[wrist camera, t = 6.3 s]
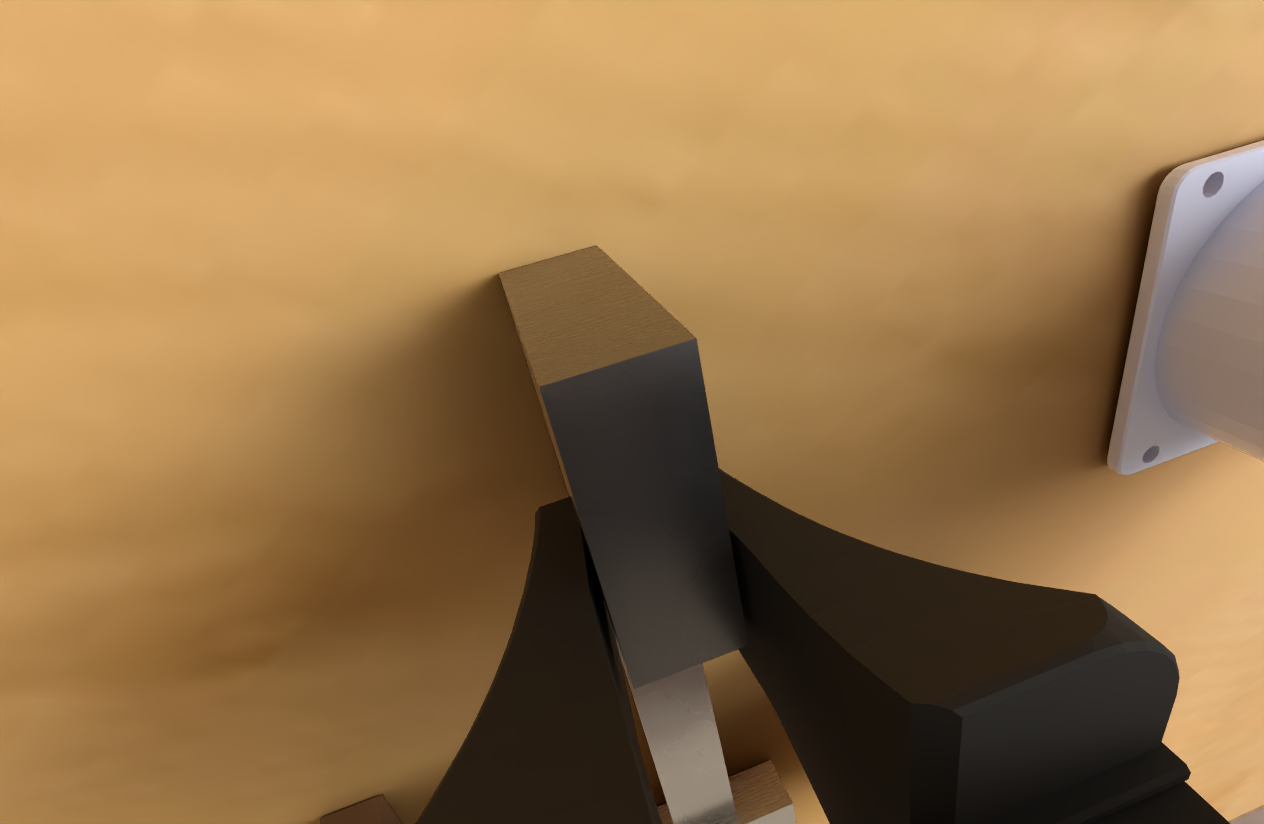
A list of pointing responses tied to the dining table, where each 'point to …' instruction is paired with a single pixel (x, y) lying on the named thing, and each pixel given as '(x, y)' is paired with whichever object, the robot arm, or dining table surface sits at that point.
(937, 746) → the robot arm
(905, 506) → the dining table surface
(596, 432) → the blade tool
